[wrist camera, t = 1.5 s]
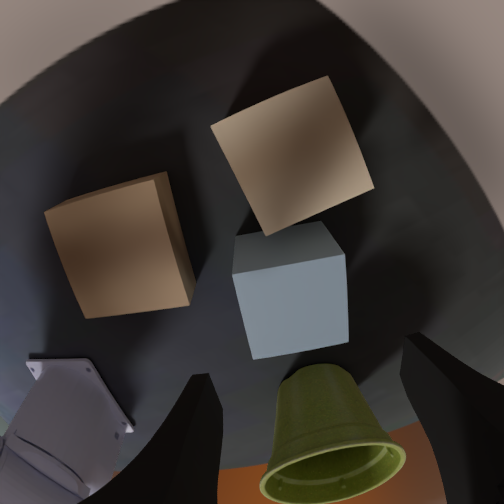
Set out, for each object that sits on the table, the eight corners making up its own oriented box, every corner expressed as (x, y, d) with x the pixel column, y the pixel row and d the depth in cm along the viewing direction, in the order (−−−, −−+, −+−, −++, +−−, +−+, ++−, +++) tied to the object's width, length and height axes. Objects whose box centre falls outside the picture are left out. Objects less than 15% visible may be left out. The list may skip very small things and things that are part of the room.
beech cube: (341, 170, 17) (374, 188, 12) (260, 206, 18) (265, 236, 13) (305, 88, 15) (327, 75, 11) (220, 126, 16) (210, 126, 11)
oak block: (197, 279, 20) (189, 305, 17) (102, 294, 20) (85, 318, 17) (168, 170, 17) (153, 179, 14) (68, 198, 18) (43, 212, 15)
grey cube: (328, 294, 20) (348, 342, 15) (251, 308, 20) (252, 359, 16) (320, 220, 18) (344, 254, 14) (235, 235, 18) (231, 274, 14)
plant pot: (363, 413, 25) (388, 491, 17) (261, 427, 25) (264, 511, 17) (378, 336, 22) (423, 426, 14) (250, 353, 22) (252, 457, 14)
